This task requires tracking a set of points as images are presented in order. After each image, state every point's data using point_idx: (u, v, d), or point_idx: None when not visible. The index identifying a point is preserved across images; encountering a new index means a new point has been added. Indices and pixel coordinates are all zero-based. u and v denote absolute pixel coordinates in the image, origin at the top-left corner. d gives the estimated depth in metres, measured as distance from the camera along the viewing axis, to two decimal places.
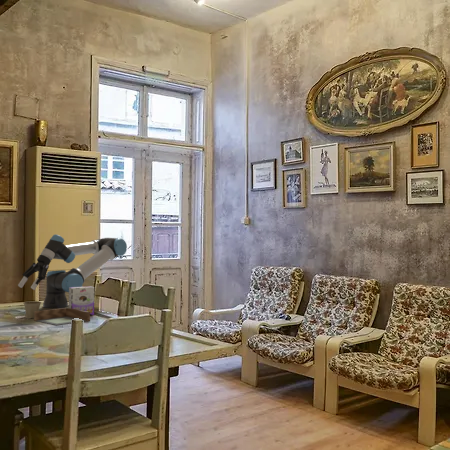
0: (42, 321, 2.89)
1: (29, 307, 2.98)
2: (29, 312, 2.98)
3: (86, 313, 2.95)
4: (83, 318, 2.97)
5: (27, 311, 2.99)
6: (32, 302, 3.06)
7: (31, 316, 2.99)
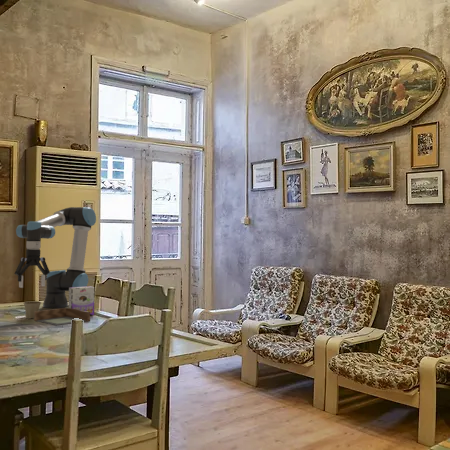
0: (42, 321, 2.89)
1: (29, 307, 2.98)
2: (29, 312, 2.98)
3: (86, 313, 2.95)
4: (83, 318, 2.97)
5: (27, 311, 2.99)
6: (32, 302, 3.06)
7: (31, 316, 2.99)
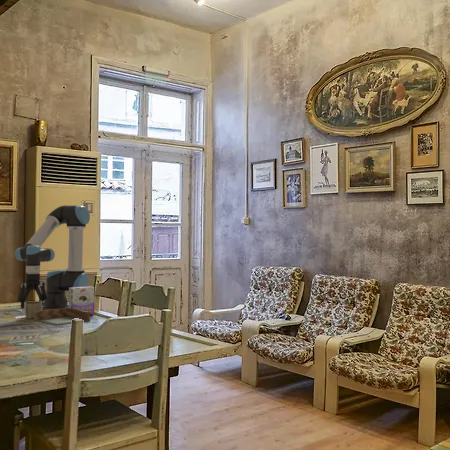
0: (42, 321, 2.89)
1: (29, 307, 2.98)
2: (29, 312, 2.98)
3: (86, 313, 2.95)
4: (83, 318, 2.97)
5: (27, 311, 2.99)
6: (32, 302, 3.06)
7: (31, 316, 2.99)
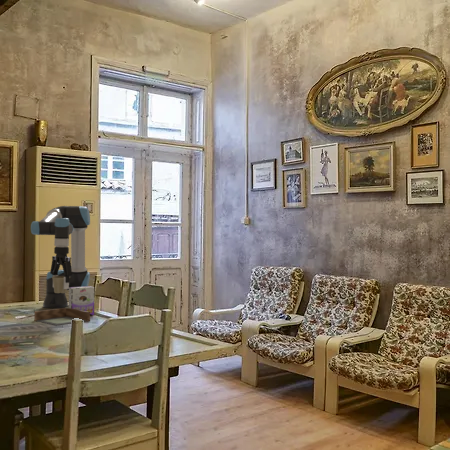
0: (42, 321, 2.89)
1: None
2: None
3: (86, 313, 2.95)
4: (83, 318, 2.97)
5: None
6: (52, 278, 2.90)
7: (66, 290, 2.92)
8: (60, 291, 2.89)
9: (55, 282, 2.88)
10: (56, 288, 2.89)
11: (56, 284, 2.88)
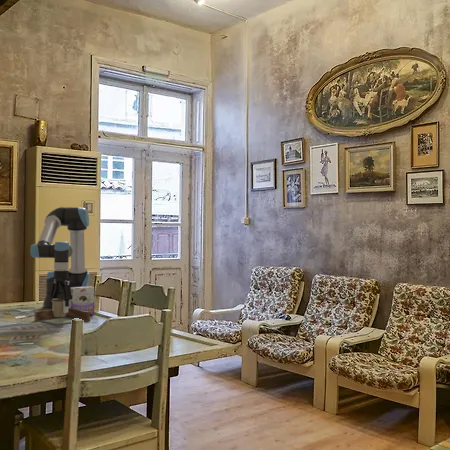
0: (42, 321, 2.89)
1: None
2: None
3: (86, 313, 2.95)
4: (83, 318, 2.97)
5: None
6: (52, 301, 2.90)
7: None
8: (60, 315, 2.89)
9: (55, 306, 2.88)
10: (56, 312, 2.89)
11: (56, 308, 2.88)
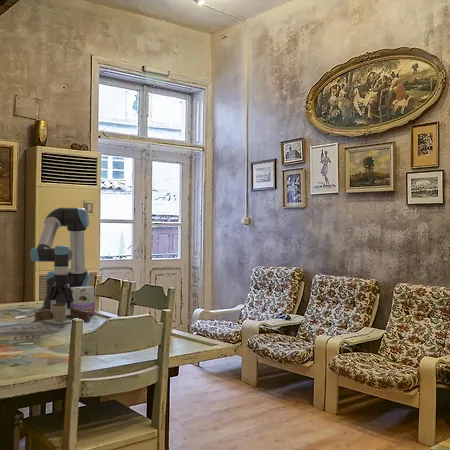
0: (42, 321, 2.89)
1: None
2: None
3: (86, 313, 2.95)
4: (83, 318, 2.97)
5: None
6: (52, 306, 2.90)
7: None
8: (60, 319, 2.89)
9: (55, 310, 2.88)
10: (56, 316, 2.89)
11: (56, 312, 2.88)
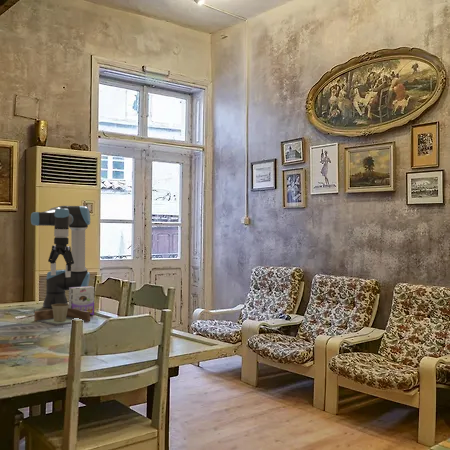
0: (42, 321, 2.89)
1: (67, 309, 2.92)
2: (66, 314, 2.92)
3: (86, 313, 2.95)
4: (83, 318, 2.97)
5: (65, 313, 2.90)
6: (52, 306, 2.90)
7: None
8: (60, 319, 2.89)
9: (55, 310, 2.88)
10: (56, 316, 2.89)
11: (56, 312, 2.88)
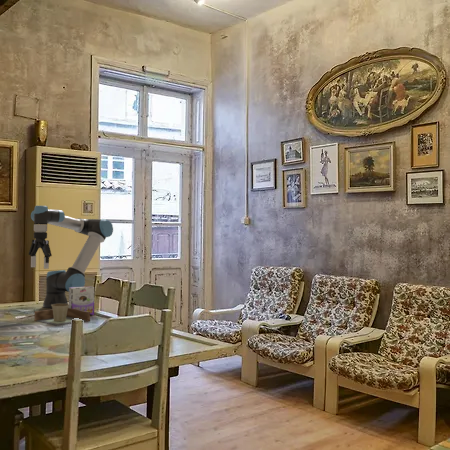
0: (42, 321, 2.89)
1: (67, 309, 2.92)
2: (66, 314, 2.92)
3: (86, 313, 2.95)
4: (83, 318, 2.97)
5: (65, 313, 2.90)
6: (52, 306, 2.90)
7: None
8: (60, 319, 2.89)
9: (55, 310, 2.88)
10: (56, 316, 2.89)
11: (56, 312, 2.88)
